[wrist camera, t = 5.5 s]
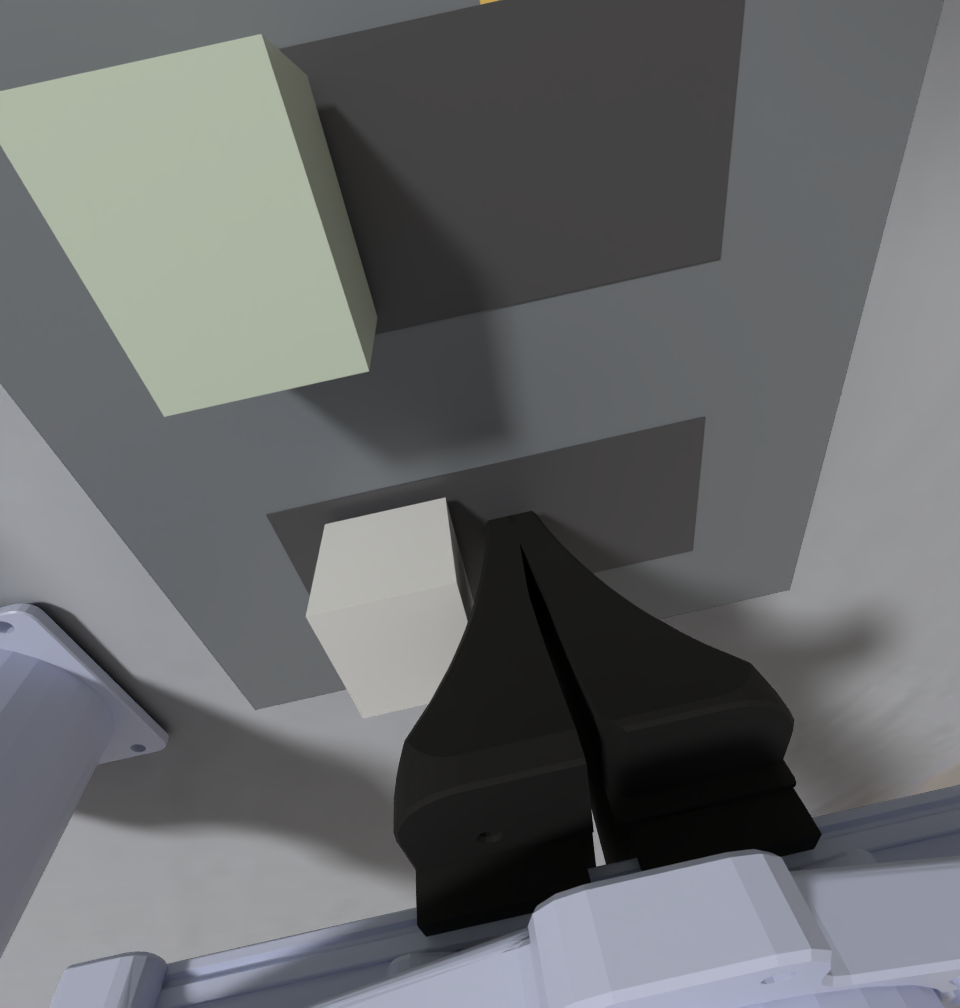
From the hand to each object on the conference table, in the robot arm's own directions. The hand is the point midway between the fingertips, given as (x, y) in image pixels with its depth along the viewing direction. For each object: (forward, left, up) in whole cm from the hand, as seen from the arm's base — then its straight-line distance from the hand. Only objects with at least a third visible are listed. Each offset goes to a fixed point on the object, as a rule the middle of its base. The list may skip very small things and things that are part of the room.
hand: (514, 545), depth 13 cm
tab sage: (-3, +8, 0) cm, 9 cm away
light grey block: (-3, 0, 0) cm, 3 cm away
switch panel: (0, +4, -3) cm, 5 cm away
